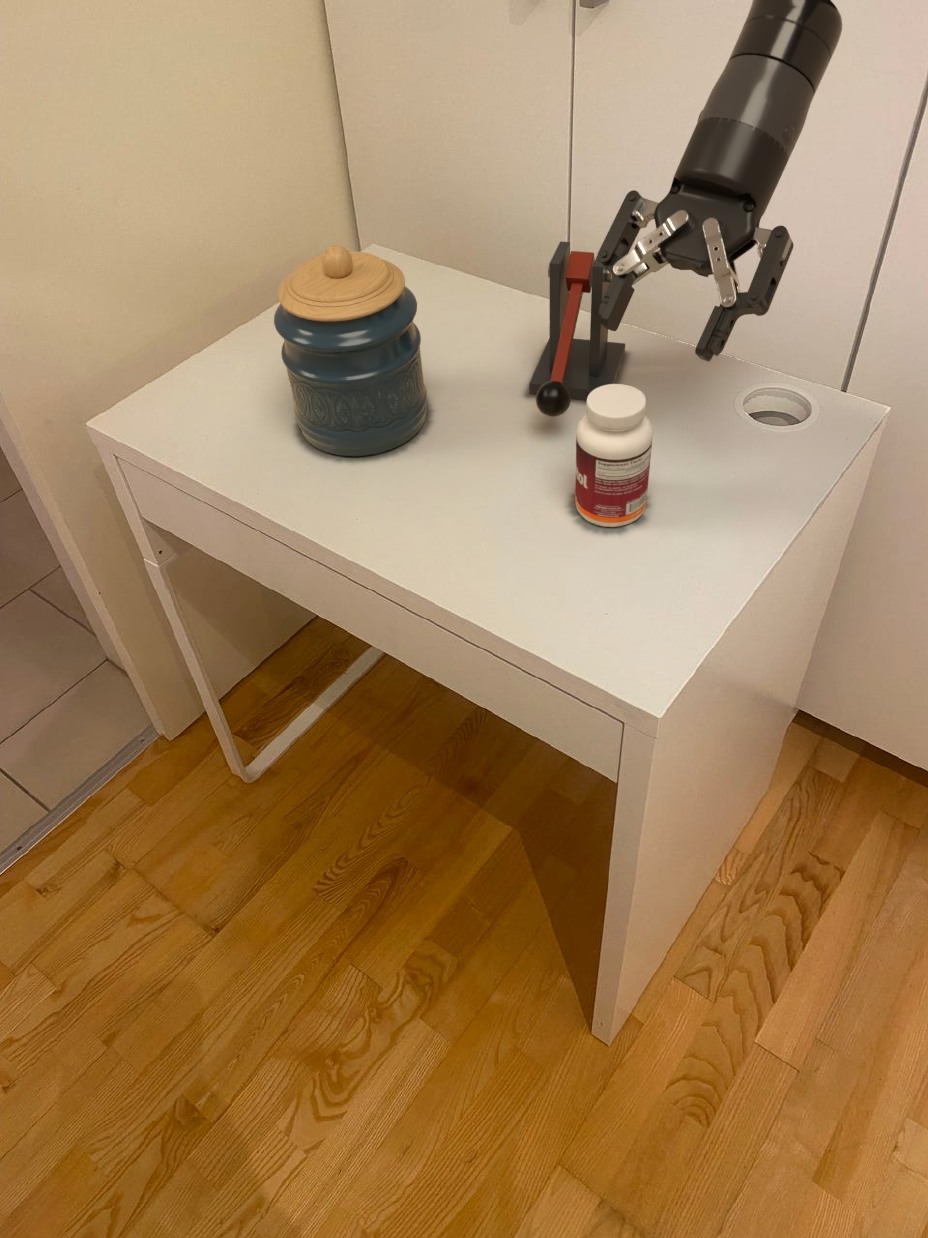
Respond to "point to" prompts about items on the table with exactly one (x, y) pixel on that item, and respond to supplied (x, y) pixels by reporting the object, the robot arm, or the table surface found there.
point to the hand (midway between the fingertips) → (653, 342)
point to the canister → (352, 352)
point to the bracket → (587, 358)
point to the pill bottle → (613, 456)
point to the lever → (566, 335)
